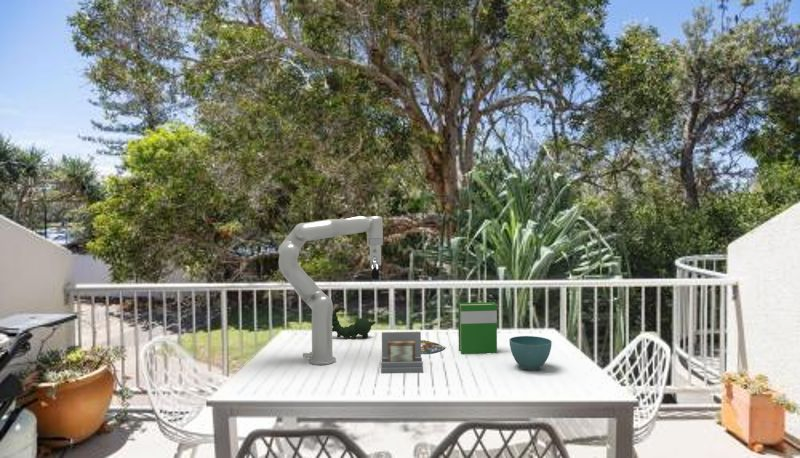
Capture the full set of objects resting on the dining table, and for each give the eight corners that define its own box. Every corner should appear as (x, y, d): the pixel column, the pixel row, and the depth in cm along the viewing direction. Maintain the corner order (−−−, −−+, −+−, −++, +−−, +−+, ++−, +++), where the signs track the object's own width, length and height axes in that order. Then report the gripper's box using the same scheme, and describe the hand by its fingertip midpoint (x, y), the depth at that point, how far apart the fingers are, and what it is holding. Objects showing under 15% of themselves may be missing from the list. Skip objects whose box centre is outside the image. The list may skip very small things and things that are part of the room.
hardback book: (461, 354, 269) (461, 305, 268) (458, 350, 276) (458, 302, 275) (497, 353, 270) (496, 304, 269) (493, 349, 277) (493, 302, 276)
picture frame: (388, 365, 242) (387, 343, 242) (388, 363, 246) (387, 341, 246) (415, 365, 242) (415, 342, 242) (414, 362, 247) (414, 340, 246)
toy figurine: (332, 343, 301) (377, 338, 302) (328, 309, 301) (374, 304, 301) (333, 339, 311) (377, 334, 311) (330, 306, 310) (374, 301, 311)
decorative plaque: (393, 336, 301) (448, 337, 295) (393, 341, 301) (448, 342, 295) (381, 350, 272) (441, 352, 266) (381, 356, 272) (441, 357, 266)
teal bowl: (524, 360, 257) (524, 333, 257) (559, 367, 244) (559, 340, 244) (501, 367, 244) (501, 340, 244) (537, 376, 231) (537, 347, 231)
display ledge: (381, 373, 238) (381, 340, 238) (382, 362, 256) (381, 332, 256) (422, 372, 239) (422, 340, 238) (420, 361, 256) (420, 331, 256)
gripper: (382, 242, 256) (382, 279, 257) (383, 241, 273) (383, 275, 274) (366, 243, 256) (366, 279, 256) (367, 241, 273) (368, 275, 274)
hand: (375, 277), depth 265 cm, fingers open, 9 cm apart
